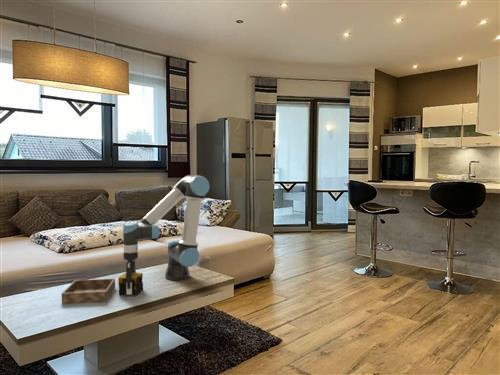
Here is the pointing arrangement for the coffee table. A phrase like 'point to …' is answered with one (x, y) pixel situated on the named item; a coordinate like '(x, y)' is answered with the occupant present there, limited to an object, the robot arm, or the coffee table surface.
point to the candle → (136, 284)
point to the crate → (88, 291)
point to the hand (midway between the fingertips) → (131, 290)
